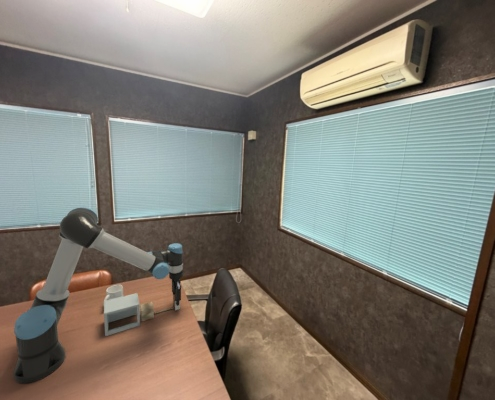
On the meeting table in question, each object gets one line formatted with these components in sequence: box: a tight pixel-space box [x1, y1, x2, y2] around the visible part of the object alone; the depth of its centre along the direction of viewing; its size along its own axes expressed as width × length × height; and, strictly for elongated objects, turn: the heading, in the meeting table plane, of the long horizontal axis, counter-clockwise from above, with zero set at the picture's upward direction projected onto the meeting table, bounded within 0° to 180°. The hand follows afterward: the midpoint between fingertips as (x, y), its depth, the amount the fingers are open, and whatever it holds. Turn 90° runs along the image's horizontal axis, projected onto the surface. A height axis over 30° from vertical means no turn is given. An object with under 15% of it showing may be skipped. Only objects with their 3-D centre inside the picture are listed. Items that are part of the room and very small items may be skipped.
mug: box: [103, 284, 124, 307], centre depth 125 cm, size 12×8×10 cm
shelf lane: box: [103, 292, 141, 337], centre depth 112 cm, size 15×11×12 cm
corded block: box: [139, 294, 175, 322], centre depth 122 cm, size 20×6×8 cm, turn 121°
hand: (176, 307), depth 128 cm, fingers closed on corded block, 3 cm apart
